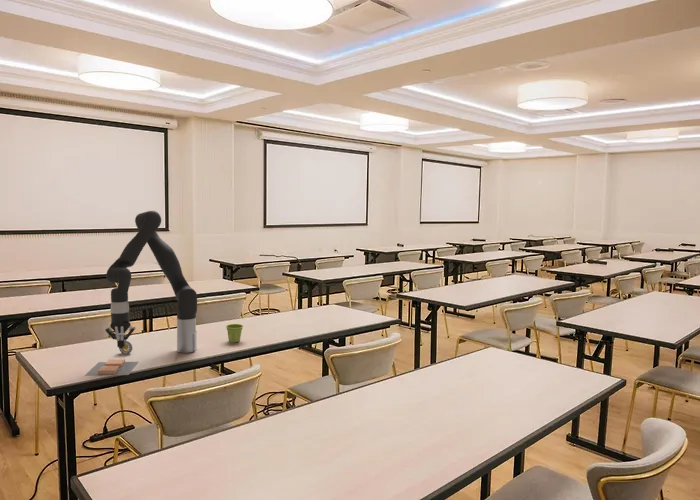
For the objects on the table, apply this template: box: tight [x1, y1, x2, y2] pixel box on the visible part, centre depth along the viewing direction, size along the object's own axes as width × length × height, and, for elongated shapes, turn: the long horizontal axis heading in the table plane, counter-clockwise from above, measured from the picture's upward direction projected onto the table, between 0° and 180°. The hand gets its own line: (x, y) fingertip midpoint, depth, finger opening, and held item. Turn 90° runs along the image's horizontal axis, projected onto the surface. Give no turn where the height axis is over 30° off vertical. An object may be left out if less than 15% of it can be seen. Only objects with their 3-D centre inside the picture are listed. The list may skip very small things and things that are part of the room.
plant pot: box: [225, 323, 244, 344], centre depth 278 cm, size 9×9×9 cm
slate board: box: [84, 361, 140, 377], centre depth 226 cm, size 18×18×1 cm
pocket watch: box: [118, 337, 133, 355], centre depth 244 cm, size 8×8×10 cm
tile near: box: [98, 366, 119, 374], centre depth 221 cm, size 2×6×7 cm
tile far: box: [105, 358, 126, 367], centre depth 230 cm, size 2×6×7 cm
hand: (121, 347), depth 230 cm, fingers closed
